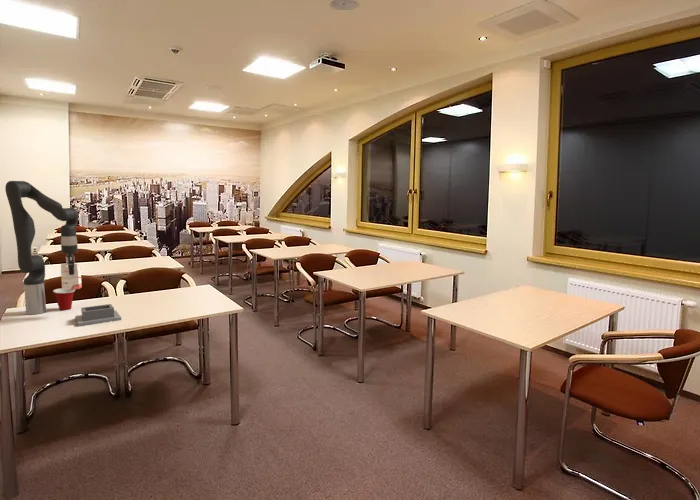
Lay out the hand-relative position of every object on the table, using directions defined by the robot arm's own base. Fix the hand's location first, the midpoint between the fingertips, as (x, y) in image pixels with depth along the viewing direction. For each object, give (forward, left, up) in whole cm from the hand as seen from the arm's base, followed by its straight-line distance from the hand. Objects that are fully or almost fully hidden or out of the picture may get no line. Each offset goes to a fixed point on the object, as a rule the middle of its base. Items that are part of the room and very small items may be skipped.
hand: (71, 273), depth 234 cm
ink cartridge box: (0, 0, -9) cm, 9 cm away
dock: (+10, -16, -24) cm, 31 cm away
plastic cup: (-3, +17, -24) cm, 30 cm away
